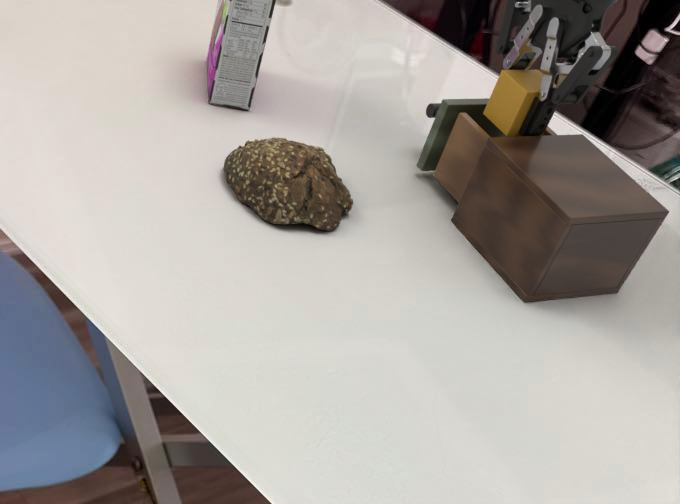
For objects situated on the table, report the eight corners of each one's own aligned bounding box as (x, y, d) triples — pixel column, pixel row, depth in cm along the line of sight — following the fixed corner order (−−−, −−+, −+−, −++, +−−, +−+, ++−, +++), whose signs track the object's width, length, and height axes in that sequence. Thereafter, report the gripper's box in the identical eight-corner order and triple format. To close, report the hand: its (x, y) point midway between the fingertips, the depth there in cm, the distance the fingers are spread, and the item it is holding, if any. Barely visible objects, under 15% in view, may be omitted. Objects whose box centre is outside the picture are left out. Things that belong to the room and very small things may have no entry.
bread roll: (210, 160, 99) (221, 113, 95) (321, 161, 102) (336, 115, 99) (252, 234, 91) (266, 186, 87) (370, 233, 95) (388, 186, 91)
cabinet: (450, 220, 99) (488, 137, 92) (540, 214, 103) (582, 133, 96) (524, 302, 91) (571, 218, 84) (618, 293, 95) (670, 211, 88)
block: (482, 113, 97) (501, 69, 94) (518, 112, 98) (538, 69, 95) (506, 137, 95) (527, 92, 91) (542, 135, 96) (564, 91, 93)
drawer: (396, 143, 106) (421, 77, 100) (473, 141, 109) (501, 77, 104) (477, 233, 96) (510, 165, 91) (559, 227, 100) (595, 162, 94)
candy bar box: (203, 59, 113) (236, -101, 101) (245, 66, 114) (283, -92, 102) (205, 105, 106) (240, -62, 94) (250, 112, 107) (291, -52, 94)
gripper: (522, -105, 86) (445, 87, 99) (621, -36, 78) (523, 163, 91) (588, -100, 89) (505, 86, 102) (691, -33, 81) (586, 160, 94)
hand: (514, 121), depth 96 cm, fingers closed on block, 4 cm apart
